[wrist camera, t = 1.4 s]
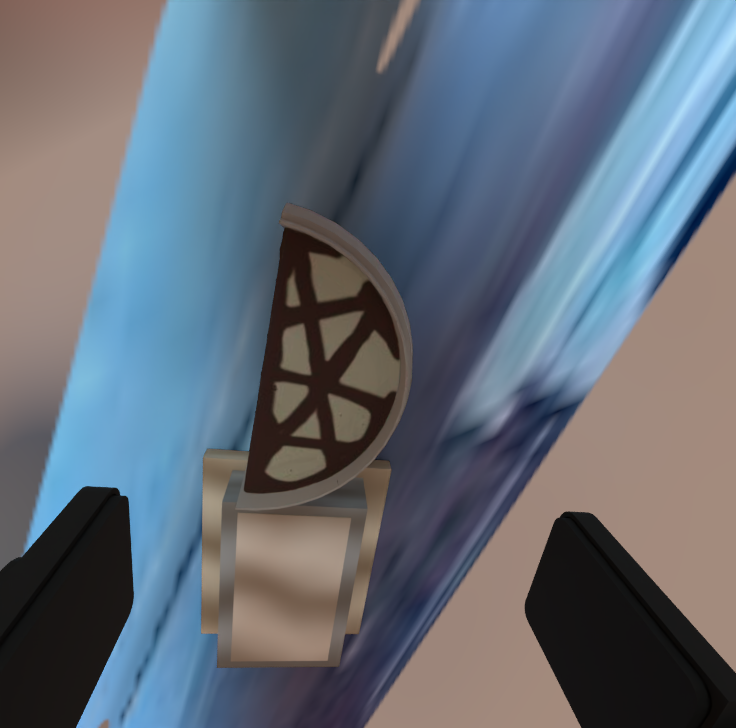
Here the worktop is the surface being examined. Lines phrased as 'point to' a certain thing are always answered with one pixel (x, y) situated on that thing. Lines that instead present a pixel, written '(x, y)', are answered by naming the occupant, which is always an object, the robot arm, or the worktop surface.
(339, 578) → the beige rectangular frame
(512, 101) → the worktop surface
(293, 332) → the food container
